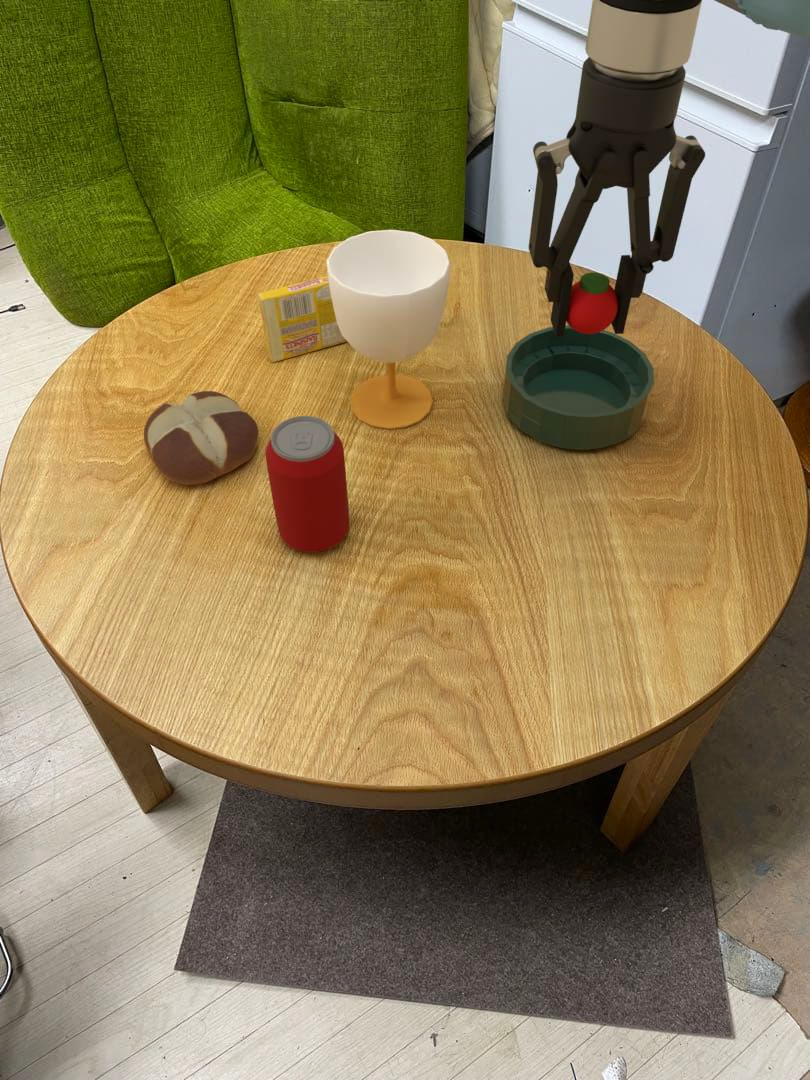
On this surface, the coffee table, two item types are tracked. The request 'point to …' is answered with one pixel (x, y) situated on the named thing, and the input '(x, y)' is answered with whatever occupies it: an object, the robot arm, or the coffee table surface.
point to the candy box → (299, 319)
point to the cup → (389, 316)
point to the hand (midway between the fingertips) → (586, 326)
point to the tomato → (592, 304)
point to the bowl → (577, 388)
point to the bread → (200, 437)
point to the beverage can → (308, 483)
